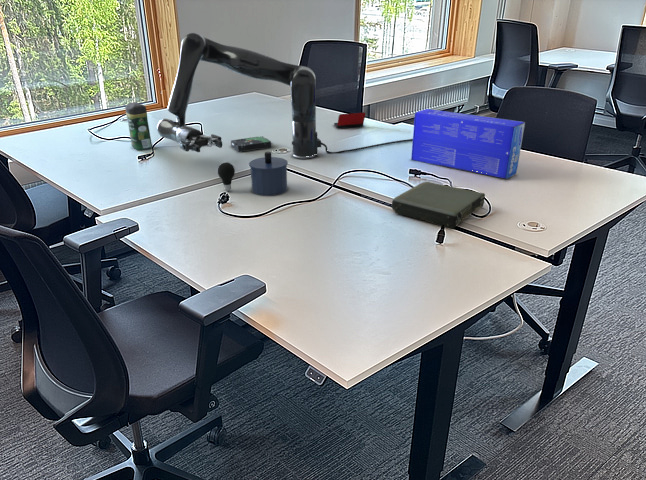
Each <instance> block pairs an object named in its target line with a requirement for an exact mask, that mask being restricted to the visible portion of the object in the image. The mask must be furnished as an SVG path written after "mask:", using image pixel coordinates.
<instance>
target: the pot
mask: <svg viewBox="0 0 646 480" xmlns="http://www.w3.org/2000/svg"><path fill="white" fill-rule="evenodd" d="M287 166H288V164H287V165H286V166H285V167H283V168H280V169H275V170H258V169H254V168H251V167H250V182H251V190H252V193H254V194H255V195H258V196H265V197H269V196H279V195H282V194H284V193H285V192H287V190H288V170H287Z"/></svg>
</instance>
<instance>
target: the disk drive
mask: <svg viewBox="0 0 646 480" xmlns="http://www.w3.org/2000/svg"><path fill="white" fill-rule="evenodd" d="M230 146H231V147H232V148H233V149H234V150H235V151H237V152H240V153H242V152H248V151H256V150H262V149H267V148H268V149H269V148H271V147H272V141H271V140H269V139H268V138H266V137H264V136H260V135H259V136H253V137H246V138H238V139H232V140H230Z"/></svg>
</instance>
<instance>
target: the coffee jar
mask: <svg viewBox="0 0 646 480" xmlns="http://www.w3.org/2000/svg"><path fill="white" fill-rule="evenodd" d="M125 115H126V120H127V126H128V131H129V132H128V133H129V139H130V144H131V147H132V148H133V149H134V150H138V151H139V150H143V151H144V150H149V149H150V148H153V144H152V139H151V137H152V136H151V131H150V125H149V120H148V110H147V107H146V105H144V104H142V103H139V102H138V101H135V102H128V103H127V104H126V105H125Z"/></svg>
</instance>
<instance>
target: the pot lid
mask: <svg viewBox="0 0 646 480" xmlns="http://www.w3.org/2000/svg"><path fill="white" fill-rule="evenodd" d="M288 163H289V162H288V160H287V159H286V158H282V157H278V156H272V152H271V151H264V157H263V156H262V157H258V158H255V159H251V160H250V161H249V163H248V166H249V167H250V169H251V168H254V169H258V170H275V169H280V168H283V167H285V166H286V165H287V166H288V165H289V164H288Z"/></svg>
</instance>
